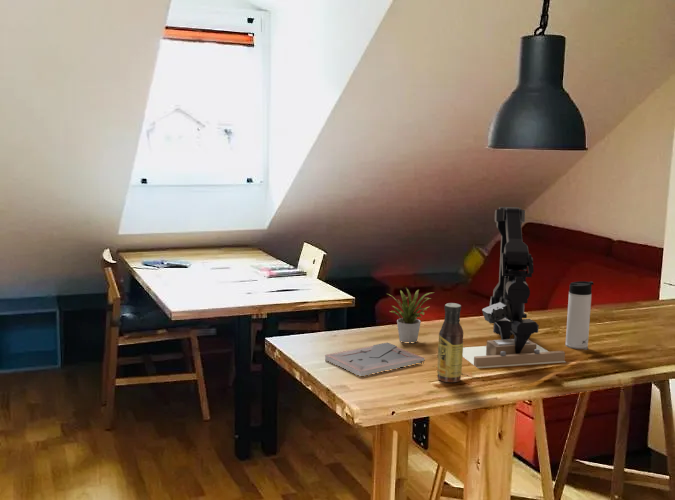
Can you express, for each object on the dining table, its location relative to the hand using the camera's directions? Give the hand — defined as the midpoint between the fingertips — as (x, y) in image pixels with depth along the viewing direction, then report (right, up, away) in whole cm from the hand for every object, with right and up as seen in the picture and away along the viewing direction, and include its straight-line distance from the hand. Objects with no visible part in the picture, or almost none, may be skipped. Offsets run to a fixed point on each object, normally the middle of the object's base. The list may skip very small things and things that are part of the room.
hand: (511, 349), depth 216 cm
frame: (0, -2, 0) cm, 2 cm away
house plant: (-26, 0, +17) cm, 31 cm away
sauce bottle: (-19, -6, -16) cm, 26 cm away
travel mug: (+22, -1, +12) cm, 25 cm away
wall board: (0, -3, +2) cm, 4 cm away
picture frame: (-38, -4, -2) cm, 38 cm away
